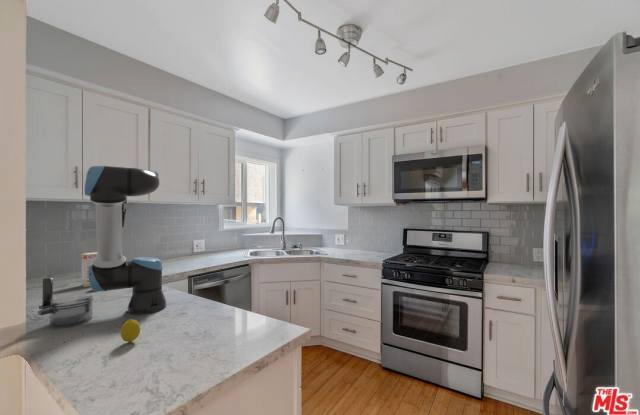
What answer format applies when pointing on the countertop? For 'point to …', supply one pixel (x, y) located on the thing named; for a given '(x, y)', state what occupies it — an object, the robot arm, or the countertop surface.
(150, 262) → the robot arm
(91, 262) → the coffeecake box
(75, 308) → the pot
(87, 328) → the countertop surface
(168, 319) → the countertop surface
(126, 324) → the lemon
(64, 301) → the lid
